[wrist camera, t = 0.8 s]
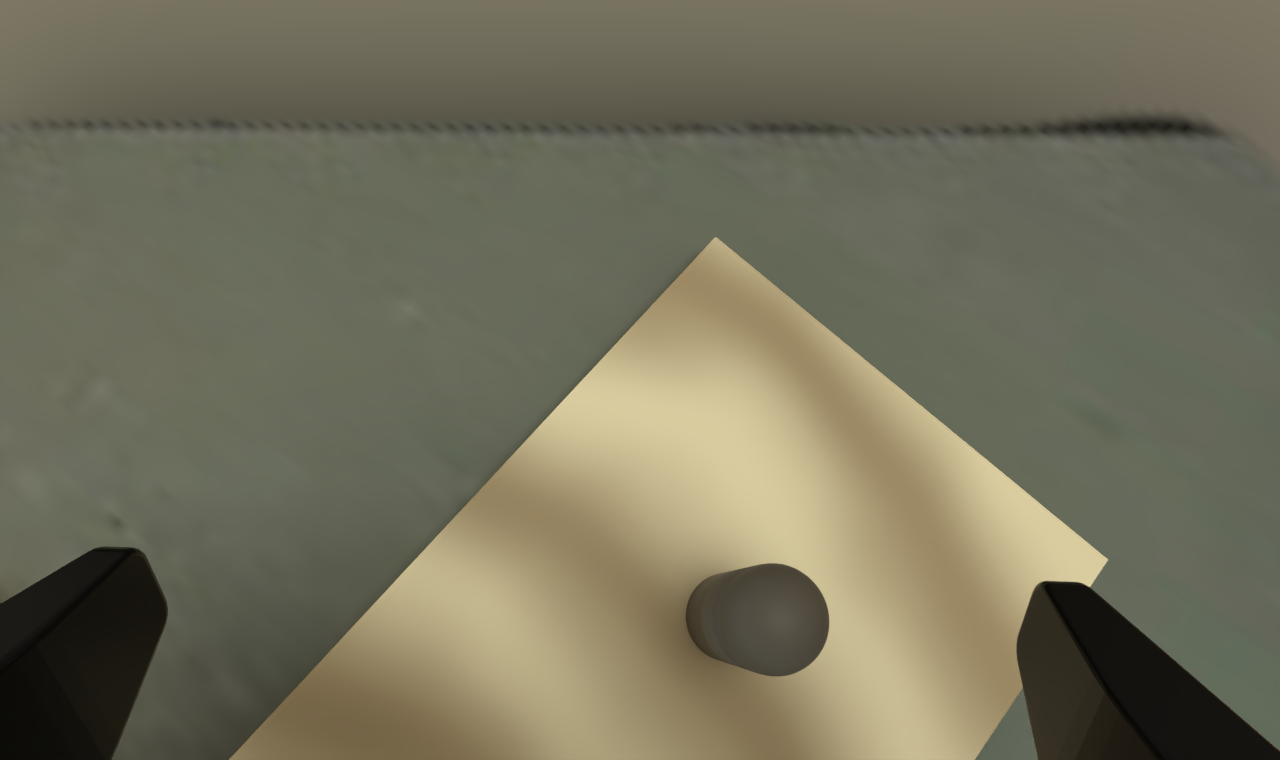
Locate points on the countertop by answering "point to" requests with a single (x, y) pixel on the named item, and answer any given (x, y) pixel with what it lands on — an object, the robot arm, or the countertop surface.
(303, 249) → the countertop surface
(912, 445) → the keeper board
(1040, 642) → the robot arm
